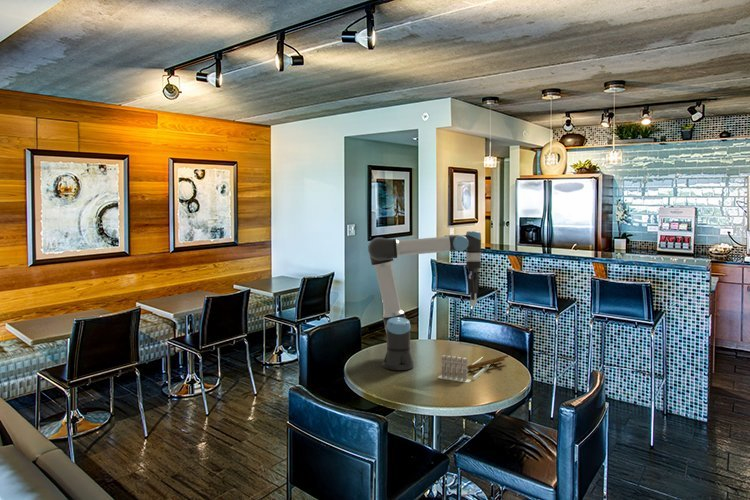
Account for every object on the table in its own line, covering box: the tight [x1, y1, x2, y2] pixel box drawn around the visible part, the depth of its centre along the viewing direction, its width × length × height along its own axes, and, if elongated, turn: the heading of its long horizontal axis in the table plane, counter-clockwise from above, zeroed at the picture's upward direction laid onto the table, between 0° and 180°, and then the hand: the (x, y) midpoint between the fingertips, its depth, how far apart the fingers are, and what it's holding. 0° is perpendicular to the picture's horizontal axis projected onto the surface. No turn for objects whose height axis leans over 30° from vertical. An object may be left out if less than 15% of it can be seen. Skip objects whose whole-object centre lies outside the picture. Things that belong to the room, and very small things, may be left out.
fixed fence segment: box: [441, 354, 468, 381], centre depth 228 cm, size 2×12×10 cm, turn 61°
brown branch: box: [467, 354, 509, 371], centre depth 245 cm, size 25×2×10 cm
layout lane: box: [467, 356, 492, 381], centre depth 243 cm, size 8×37×2 cm, turn 151°
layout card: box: [436, 374, 472, 384], centre depth 227 cm, size 15×4×1 cm, turn 61°
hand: (473, 305), depth 260 cm, fingers closed
